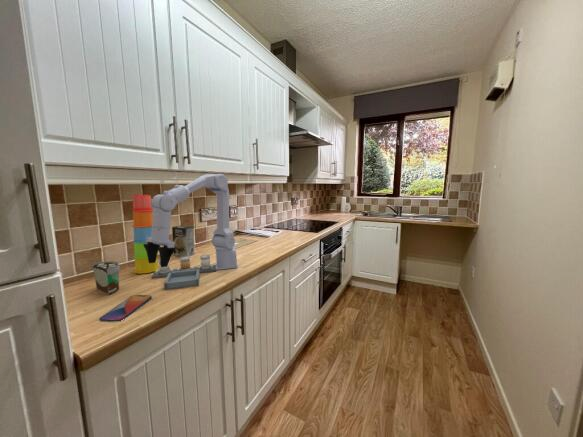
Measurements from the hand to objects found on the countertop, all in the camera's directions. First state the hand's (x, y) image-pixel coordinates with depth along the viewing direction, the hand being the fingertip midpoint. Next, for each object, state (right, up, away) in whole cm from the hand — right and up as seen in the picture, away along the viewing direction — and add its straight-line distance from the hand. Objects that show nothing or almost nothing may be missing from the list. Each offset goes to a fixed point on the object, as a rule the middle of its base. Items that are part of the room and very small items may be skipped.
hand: (157, 264), depth 88 cm
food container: (-20, -10, +4) cm, 22 cm away
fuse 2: (+9, -6, +24) cm, 26 cm away
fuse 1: (-7, -7, +18) cm, 21 cm away
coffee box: (-11, -4, +46) cm, 48 cm away
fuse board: (+1, -7, +21) cm, 22 cm away
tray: (+4, -9, +11) cm, 15 cm away
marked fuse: (+1, -7, +21) cm, 22 cm away
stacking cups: (-18, -7, +23) cm, 30 cm away
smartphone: (-4, -13, -10) cm, 17 cm away
